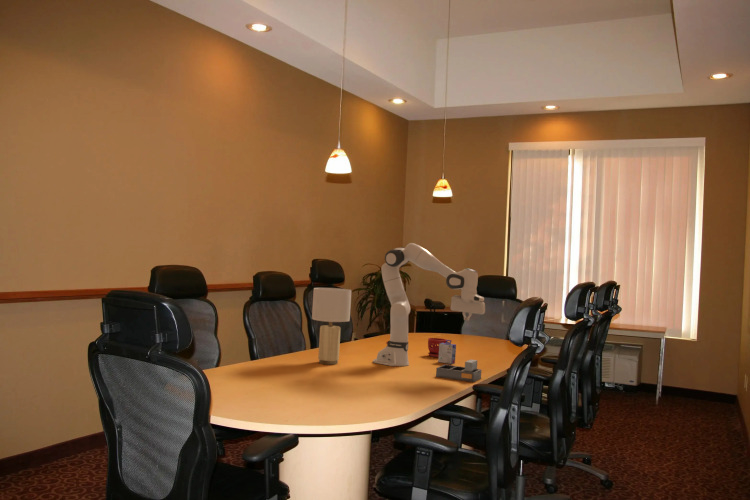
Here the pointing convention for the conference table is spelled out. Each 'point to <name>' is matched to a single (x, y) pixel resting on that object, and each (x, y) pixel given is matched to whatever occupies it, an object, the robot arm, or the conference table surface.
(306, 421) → the conference table surface
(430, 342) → the plant pot
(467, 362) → the grey rectangular block
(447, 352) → the ink cartridge box
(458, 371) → the slot rack
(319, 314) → the lamp
